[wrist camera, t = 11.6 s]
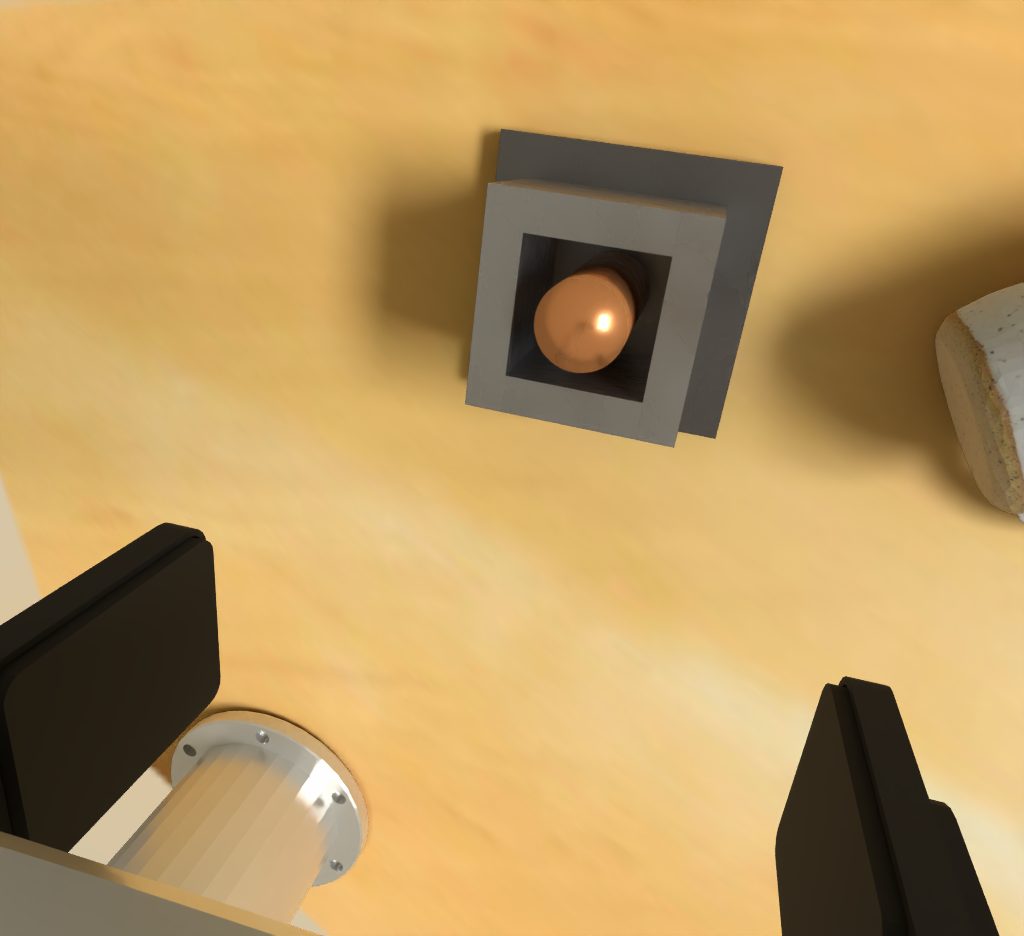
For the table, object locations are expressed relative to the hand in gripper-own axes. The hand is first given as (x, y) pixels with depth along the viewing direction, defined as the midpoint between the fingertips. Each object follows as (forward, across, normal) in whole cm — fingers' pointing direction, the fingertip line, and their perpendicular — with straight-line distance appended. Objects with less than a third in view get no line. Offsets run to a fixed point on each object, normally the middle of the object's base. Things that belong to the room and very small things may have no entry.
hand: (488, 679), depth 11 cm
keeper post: (+21, +1, -3) cm, 21 cm away
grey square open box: (+20, +1, -3) cm, 20 cm away
